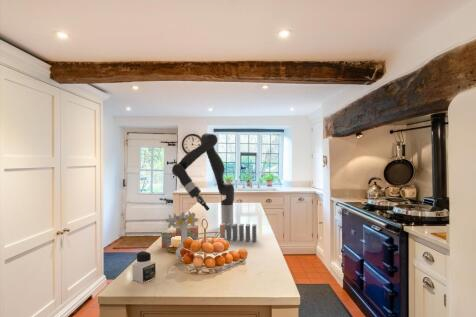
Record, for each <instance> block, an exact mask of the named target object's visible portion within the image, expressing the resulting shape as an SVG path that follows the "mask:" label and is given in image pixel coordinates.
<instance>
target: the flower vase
mask: <svg viewBox="0 0 476 317" xmlns="http://www.w3.org/2000/svg"><path fill="white" fill-rule="evenodd" d="M165 222H166V223H168V225H167V227H168V229H170V228H171V227H172V228H174V229H176V227H177V226H178V228H179V230H181V244H180V246H179V247H178V248H176V250H175V255H176V257H177V258H178V260H179V261H181V254H180V250H181V249H182V248H183V241H184V240H185V239H187V226H188V225H191V226H192V227H194V226H195V225H196V224H195V223H196V222H199V218H197V217H196V213H195V212H192V213H191V211H188V214H185V212H184V211H182V212H181V214H179V215H177V214H176V213H175V212H174V213H173V216H172V215H171V214H170V213H169V214H168V218H166V219H165Z"/></svg>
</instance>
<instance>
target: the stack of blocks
mask: <svg viewBox="0 0 476 317" xmlns="http://www.w3.org/2000/svg"><path fill="white" fill-rule="evenodd" d="M160 233H161V248H167V249H168V247H169V246H170V245H171V238H172V237H175V236H181V230H179V228H178V226H177V227H176V228H175V229H164V230H163V231H162V232H160ZM189 236H190V237H191V238H192V239H193V240H197V239H198V240H199V225H196V224H195V226H194V227H192V226H191V224H188V226H187V237H189Z"/></svg>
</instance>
